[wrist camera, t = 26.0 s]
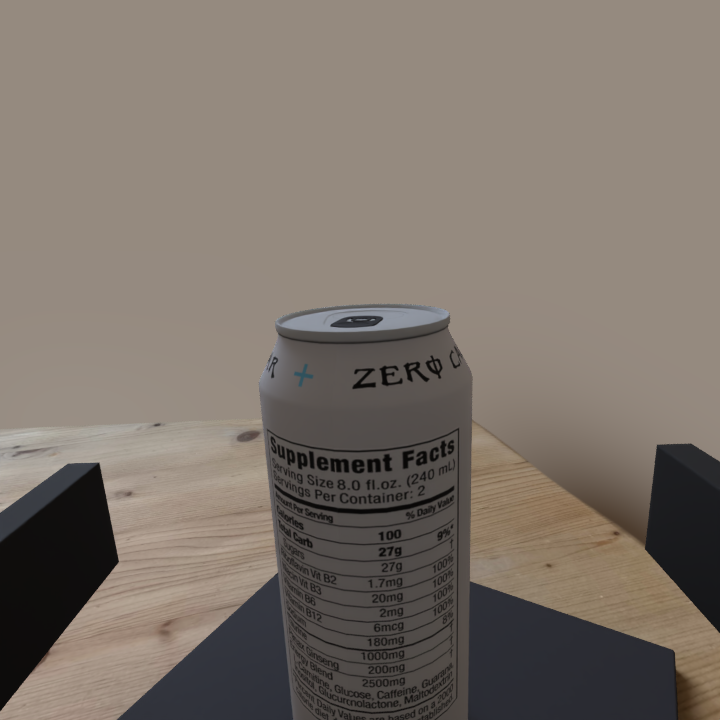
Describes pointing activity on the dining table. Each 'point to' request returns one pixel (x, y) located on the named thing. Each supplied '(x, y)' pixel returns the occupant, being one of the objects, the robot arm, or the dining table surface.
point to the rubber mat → (485, 673)
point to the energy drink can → (371, 510)
